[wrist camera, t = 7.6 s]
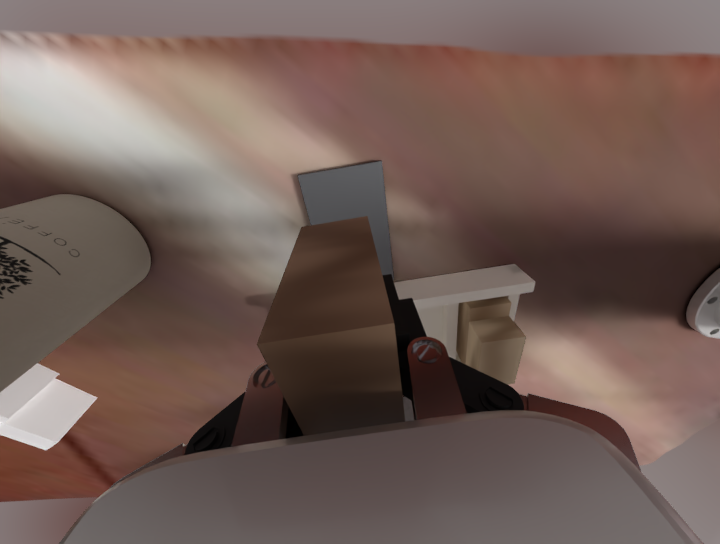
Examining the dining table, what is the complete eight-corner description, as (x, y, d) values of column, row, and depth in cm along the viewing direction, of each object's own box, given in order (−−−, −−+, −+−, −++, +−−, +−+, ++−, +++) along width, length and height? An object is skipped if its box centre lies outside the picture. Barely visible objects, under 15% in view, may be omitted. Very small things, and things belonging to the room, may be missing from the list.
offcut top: (508, 315, 23) (526, 336, 20) (500, 361, 26) (514, 383, 24) (469, 321, 23) (482, 342, 21) (465, 366, 26) (476, 388, 24)
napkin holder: (-65, 323, 24) (-170, 375, 19) (65, 324, 25) (-4, 374, 20) (30, 414, 32) (-27, 468, 27) (127, 413, 33) (89, 465, 28)
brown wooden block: (367, 216, 11) (394, 323, 5) (385, 341, 16) (412, 481, 10) (301, 227, 12) (256, 344, 6) (336, 349, 16) (333, 492, 10)
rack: (514, 263, 23) (535, 281, 21) (498, 354, 29) (512, 376, 27) (277, 300, 24) (268, 322, 21) (309, 380, 30) (306, 405, 28)
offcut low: (496, 286, 24) (511, 302, 22) (487, 345, 28) (499, 364, 26) (459, 291, 24) (470, 308, 22) (455, 350, 28) (464, 369, 26)
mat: (381, 160, 18) (381, 161, 18) (393, 277, 23) (394, 280, 23) (298, 174, 18) (297, 175, 18) (328, 287, 24) (328, 290, 23)
